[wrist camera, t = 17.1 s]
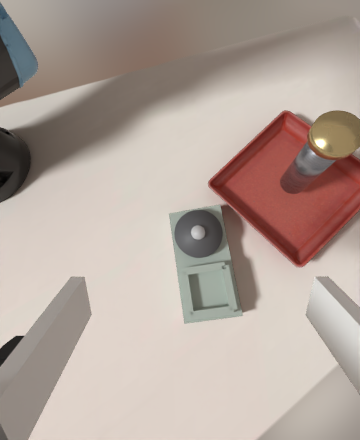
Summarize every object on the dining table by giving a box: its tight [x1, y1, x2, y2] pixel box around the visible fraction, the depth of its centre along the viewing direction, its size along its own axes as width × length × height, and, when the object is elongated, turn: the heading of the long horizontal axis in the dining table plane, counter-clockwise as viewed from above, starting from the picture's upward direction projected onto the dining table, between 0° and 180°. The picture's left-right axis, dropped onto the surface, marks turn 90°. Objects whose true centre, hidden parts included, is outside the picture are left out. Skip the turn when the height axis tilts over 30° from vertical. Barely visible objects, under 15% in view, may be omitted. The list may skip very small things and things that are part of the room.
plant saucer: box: [208, 110, 360, 267], centre depth 35 cm, size 18×18×3 cm
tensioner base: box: [169, 205, 243, 324], centre depth 33 cm, size 16×8×4 cm, turn 8°
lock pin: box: [280, 111, 360, 194], centre depth 27 cm, size 5×5×12 cm
